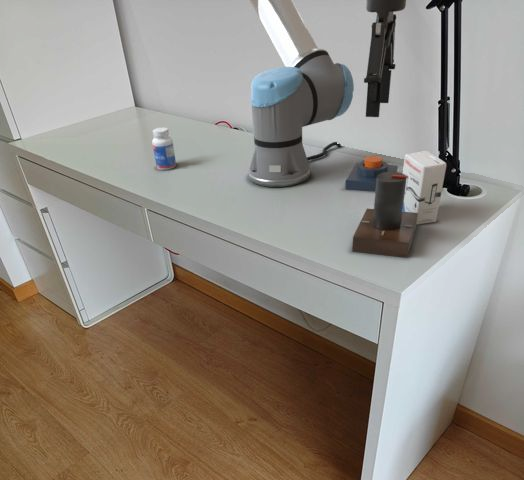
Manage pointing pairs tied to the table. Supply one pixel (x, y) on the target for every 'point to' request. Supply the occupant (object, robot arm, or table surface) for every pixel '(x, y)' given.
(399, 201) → the dial knob
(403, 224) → the block
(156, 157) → the pill bottle
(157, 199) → the table surface
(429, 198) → the ink box
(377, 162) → the button
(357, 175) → the button box
